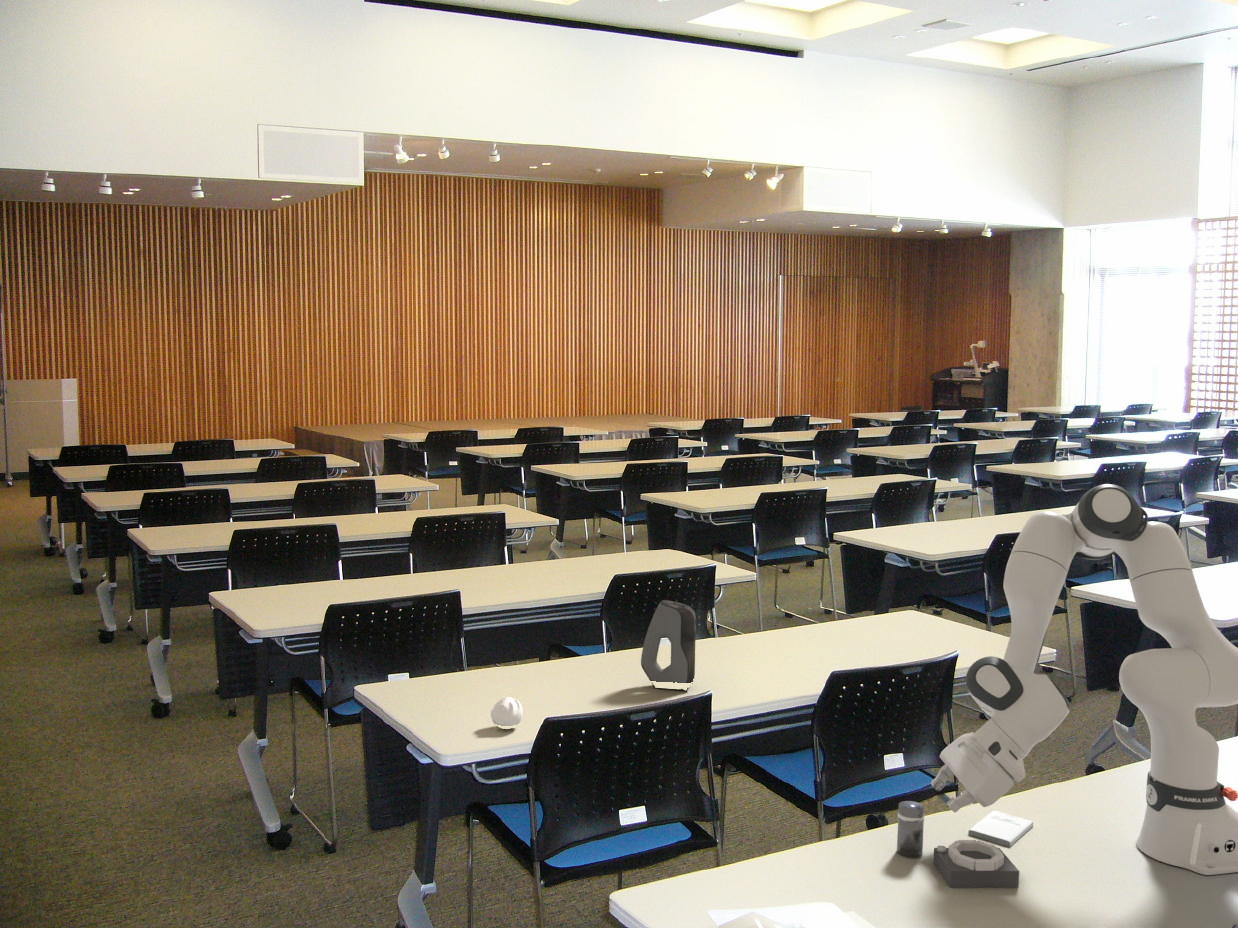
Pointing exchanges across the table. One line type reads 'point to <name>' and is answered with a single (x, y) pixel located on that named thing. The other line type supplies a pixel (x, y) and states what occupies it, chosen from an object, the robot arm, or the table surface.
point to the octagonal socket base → (975, 865)
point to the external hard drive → (1001, 828)
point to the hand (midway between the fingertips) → (942, 797)
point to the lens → (910, 829)
